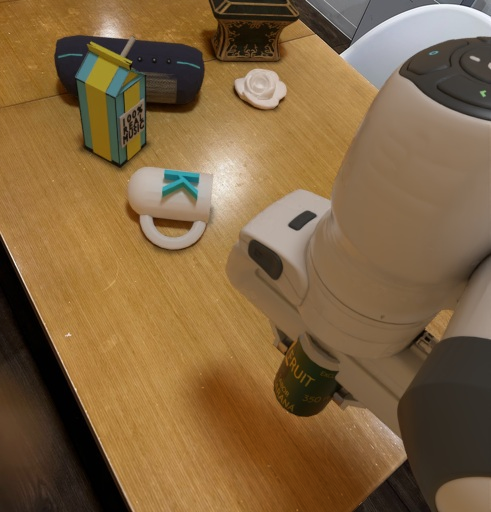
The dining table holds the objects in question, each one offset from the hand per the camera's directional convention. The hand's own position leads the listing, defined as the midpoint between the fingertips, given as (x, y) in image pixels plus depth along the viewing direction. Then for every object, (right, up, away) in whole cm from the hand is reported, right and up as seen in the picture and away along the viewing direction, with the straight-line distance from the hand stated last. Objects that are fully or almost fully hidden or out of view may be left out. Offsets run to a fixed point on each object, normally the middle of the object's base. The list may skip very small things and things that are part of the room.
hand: (311, 371), depth 43 cm
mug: (-17, +15, +31) cm, 39 cm away
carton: (-27, +28, +38) cm, 55 cm away
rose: (-3, +41, +52) cm, 67 cm away
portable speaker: (-26, +39, +46) cm, 66 cm away
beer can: (-1, -3, +4) cm, 5 cm away
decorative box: (-7, +53, +60) cm, 80 cm away
